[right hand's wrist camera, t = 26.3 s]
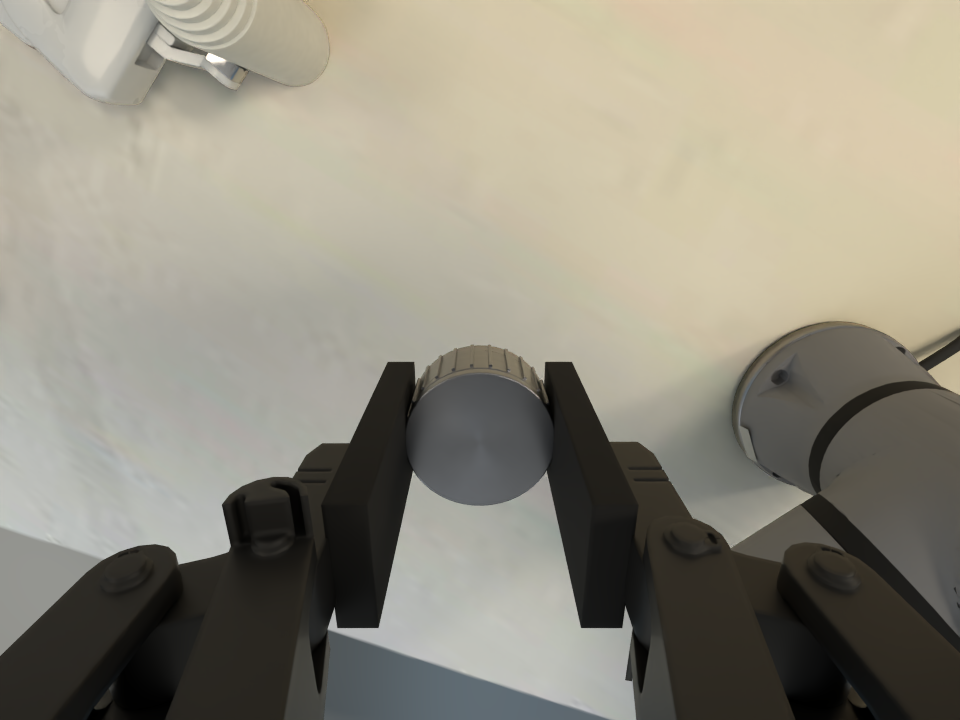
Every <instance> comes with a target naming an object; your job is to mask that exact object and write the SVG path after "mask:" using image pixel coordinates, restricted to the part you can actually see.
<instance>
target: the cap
mask: <svg viewBox="0 0 960 720" xmlns="http://www.w3.org/2000/svg"><path fill="white" fill-rule="evenodd" d="M549 405H550V403H549V400H548V397H547V393H546V390H545V387H544V383H543V381H542V380H540V379H539V378H538V376H537V374H536V372H535V369H534V368H533V367H532V368H531V367H530V366H529V365H528V364H527V363H526V362H525V361H524V360H523V358H522V357H521V356H520V357H518V356H516V355H515V354H513V353H511V352H509V351H508V350H507V349H505V350H504V349H500V348H497V347H492V346H491V345H488V346H479V345H477V346H474V345H471V346H468V347H463V348H459V349H457V348H455V349H454V350H453V351H451V352H449V353H447V354H445V355H443V356H442V355H440V356H439V358H438V359H437V360H436V361H435V362H434V363H432V364H431V365H430V366H429V365H428V366H427V367H426V371H425V372H424V374H423V375H422V377H421V378H418V380H417V383H416V387H415V390H414V394H413V397H412V401H411V406H410V409H409V413H408V416H407V417H408V419H407V423H406V427H405V429H406V447H407V458H408V461H409V463H410V465H411V467H412V469H413V471H414V472H415V474H416V475H417V477H418V478H419V479H420V480H421V481H422V482H423V483H424V484H425V485H426V486H427V487H428V488H429V489H431V490H432V491H434V492H435V493H437V494H438V495H440V496H442V497H444V498H446V499H449V500H451V501H454V502H458V503H462V504H467V505H481V506H483V505H493V504H498V503H502V502H505V501H509V500H511V499H513V498H516V497H518V496H520V495H521V494H523V493H525V492H526V491H528V490H529V489H530V488H532V487H533V486H534V485H535V484H536V483H537V482H538V481H539V480H540V479H541V477H542V476H543V475H544V474H545V472H546V470H547V469H548V467H549V465H550V463H551V460H552V457H553V440H554V422H553V419H552V416H551V412H550V409H549Z"/></svg>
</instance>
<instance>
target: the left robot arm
mask: <svg viewBox="0 0 960 720" xmlns="http://www.w3.org/2000/svg"><path fill="white" fill-rule="evenodd" d="M0 23H1V24H2V25H3V26H4V27H5V28H7V29H8V30H9V31H10V32H12V33H13V34H14V35H15V36H17V37H18V38H19V39H20V40H22V41H23V42H24V43H25V44H27V45H28V46H30V47H32V48H34V49H36V50H38V51H39V52H40V53H41V54H42V55H43V56H44V57H45V58H46V59H47V60H48V61H49V62H50V63H51V64H52V65H53V66H54V67H55V68H56V69H57V70H58V71H59V72H60V73H61V74H62V75H63V76H64V77H65V78H67V79H68V80H69V81H70V82H71V83H72V84H73V85H74V86H76V87H77V88H78V89H79V90H80V91H81V92H83V93H84V94H85V95H87V96H88V97H90V98H92V99H94V100H97V101H100V102H103V103H108V104H114V105H138V104H140V103H141V102H142V101H143V99H144V98H145V96H146V94H147V92H148V91H149V89H150V87H151V86H152V84H153V82H154V81H155V79H156V77H157V75H158V74H159V72H160V70H161V69H162V67H163V65H164V64H165V62H166V60H170V61H173V62H176V63H179V64H182V65H185V66H189V67H194V68H198V69H202V70H206V71H208V72H209V73H210V74H211V75H212V76H213V77H215V78H216V79H217V80H218V81H219V82H220V83H222V84H223V85H225V86H226V87H228V88H230V89H233V90H236V91H237V89H238V88H239V86H240V84H241V83H242V81H243V80H244V78H245V77H246V75H247V73H248V72H249V71H248V69H246V68H244V67H241V66H239V65H236V64H234V63H232V62H229V61H227V60H224V59H222V58H220V57H217V56H215V55H212V54H210V53H208V54H207V56H205V55H201V54H196V53H192V52H191V51H192V50H193V48H194V47H193V46H191V45H189V44H187V43H185V42H183V41H181V40H180V39H179V38H177V37H176V36H175V35H173V34H172V33H171V32H170V31H169V30H168V29H167V28H166V27H165V26H164V25H163V24H162V23H161V22H160V21H159V20H158V19H157V18H156V17H155V15H154V14H153V13H152V11H151V9H150V8H149V6H148V5H147V3H146V0H0Z"/></svg>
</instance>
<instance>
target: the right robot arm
mask: <svg viewBox="0 0 960 720" xmlns="http://www.w3.org/2000/svg"><path fill="white" fill-rule="evenodd" d="M958 351H960V336H959V337H957V338H956V339H955V340H953V341H952V342H951V343H949V344H948V345H946V346H945V347H943V348H942V349H940V350H938V351H937V352H935V353H934V354H932V355H930V356H929V357H927V358H926V359H924V360H922V361H921V362H919V363H918V362H917V360H916V359H915V358H914V356H913V355H912V354H911V353H910V352H909V351H908V350H907V349H906V348H905V347H904V346H903V345H901V344H900V343H899V342H897V341H896V340H895V339H893V338H891V337H890V336H888V335H886V334H884V333H882V332H879V331H877V330H875V329H872V328H870V327H867V326H864V325H861V324H856V323H850V322H828V323H821V324H816V325H812V326H809V327H806V328H803V329H800V330H798V331H795V332H793V333H791V334H789V335H787V336H785V337H784V338H782V339H780V340H779V341H777V342H776V343H774V344H773V345H772V346H770V347H769V348H768V349H767V350H766V351H765V352H763V353H762V354H761V355H760V356H759V357H758V358H757V359H756V360H755V362H754V363H753V364H752V365H751V366H750V368H749V369H748V371H747V372H746V374H745V375H744V377H743V379H742V380H741V382H740V385H739V387H738V389H737V392H736V395H735V398H734V403H733V409H732V423H733V429H734V433H735V436H736V439H737V441H738V443H739V445H740V446H741V448H742V449H743V451H744V452H745V453H746V454H747V458H749V459H751V460H752V461H753V462H754V463H755V464H756V465H757V466H758V467H759V468H760V469H762V470H763V471H765V472H766V473H768V474H769V475H771V476H772V477H774V478H776V479H778V480H780V481H782V482H784V483H787V484H790V485H793V486H797V487H798V488H799V489H801V490H803V491H805V492H807V493H809V494H811V495H813V497H812V498H810V499H808V500H807V501H805V502H804V503H802V504H800V505H798V506H797V507H795V508H793V509H792V510H790V511H789V512H787V513H786V514H784V515H782V516H781V517H779V518H778V519H776V520H775V521H773V522H771V523H770V524H768V525H767V526H765V527H764V528H762V529H760V530H759V531H757V532H756V533H754V534H753V535H751V536H749V537H748V538H746V539H745V540H743V541H742V542H740V543H738V544H737V545H735V546H734V547H732V548H731V549H730V547H729V545H728V543H727V542H726V540H725V539H724V537H723V536H722V535H721V534H720V533H719V532H717V531H716V530H715V529H714V528H712V527H711V526H709V525H707V524H705V523H703V522H701V521H698V520H696V519H693V518H692V517H691V515H690V513H689V512H688V510H687V508H686V507H685V505H684V503H683V502H682V500H681V498H680V497H679V495H678V493H677V492H676V490H675V488H674V487H673V485H672V483H671V482H670V481H669V478H668V477H667V475H666V474H665V472H664V470H662V467H661V465H660V464H659V462H658V460H657V459H656V457H655V455H654V454H653V453H652V452H651V451H649V450H648V449H647V448H645V447H644V446H642V445H641V444H640V443H638V442H609V440H608V438H607V436H606V434H605V432H604V430H603V428H602V425H601V423H600V421H599V419H598V417H597V415H596V413H595V411H594V408H593V406H592V404H591V402H590V400H589V398H588V396H587V393H586V391H585V389H584V387H583V385H582V383H581V381H580V378H579V376H578V374H577V372H576V370H575V368H574V366H573V363H572V362H545V379H544V387H545V390H546V393H547V397H548V400H549V403H550V405H549V409H550V412H551V416H552V419H553V422H554V440H553V457H552V460H551V463H550V465H549V467H548V469H547V474H548V478H549V483H550V488H551V492H552V497H553V501H554V506H555V510H556V515H557V520H558V524H559V529H560V533H561V538H562V542H563V547H564V552H565V556H566V561H567V565H568V570H569V574H570V579H571V584H572V588H573V593H574V597H575V602H576V606H577V611H578V616H579V620H580V625H581V628H622V626H623V619H624V611H625V606H626V609H627V612H628V615H629V618H630V621H631V624H632V627H633V630H632V637H631V644H630V651H629V658H628V665H627V672H626V679H625V680H628V681H632V678H633V688H634V699H635V710H636V720H960V395H958V394H956V393H954V392H952V391H950V390H948V389H945V388H943V387H941V386H940V385H939V384H938V383H937V382H936V380H935V379H934V378H933V377H932V376H931V375H930V374H929V373H928V372H927V371H928V370H930V369H931V368H933V367H934V366H936V365H938V364H939V363H941V362H943V361H944V360H946V359H947V358H949V357H950V356H952V355H954V354H955V353H957V352H958ZM415 387H416V386H415V366H414V362H388V363H387V365H386V367H385V369H384V371H383V373H382V376H381V378H380V380H379V382H378V384H377V386H376V388H375V391H374V393H373V395H372V397H371V399H370V401H369V403H368V405H367V408H366V410H365V412H364V414H363V416H362V418H361V420H360V423H359V425H358V427H357V429H356V431H355V433H354V435H353V438H352V440H351V442H350V443H322V444H321V445H320V446H318V447H317V448H315V449H314V450H313V451H311V452H310V453H309V454H307V455H306V457H305V458H304V460H303V462H302V463H301V465H300V467H299V468H298V472H296V473H295V475H294V477H293V478H289V477H271V478H266V479H261V480H257V481H254V482H252V483H249V484H247V485H244V486H242V487H240V488H239V489H238V490H236V491H235V492H233V493H232V494H230V495H229V496H228V498H227V499H226V500H225V501H224V503H223V504H222V507H223V512H224V516H225V521H226V526H227V530H228V535H229V539H230V544H231V548H230V550H229V552H228V553H225V554H222V555H218V556H215V557H211V558H207V559H202V560H198V561H193V562H189V563H184V564H180V565H178V561H177V557H176V554H175V553H174V552H173V551H172V550H171V549H170V548H169V547H166V546H161V545H156V544H153V545H143V546H137V547H133V548H130V549H126V550H124V551H120V552H118V553H116V554H114V555H112V556H110V557H108V558H106V559H104V560H102V561H101V562H100V563H98V564H97V565H96V566H94V567H93V568H92V569H91V570H89V571H88V572H87V573H86V574H85V575H84V576H83V577H81V578H80V579H79V580H78V581H77V582H76V583H75V584H74V585H73V586H72V587H71V588H70V589H69V590H68V591H67V592H66V593H65V594H64V595H63V596H62V597H61V598H60V599H59V600H58V601H57V602H56V603H55V604H54V605H53V606H51V607H50V608H49V609H48V610H47V611H46V612H45V613H44V614H43V615H42V616H41V617H40V618H39V619H38V620H37V621H36V622H35V623H34V624H33V625H32V626H31V627H30V628H29V629H28V630H27V631H26V632H25V633H24V634H23V635H22V636H20V637H19V638H18V639H17V640H16V641H15V642H14V643H13V644H12V645H11V646H10V647H9V648H8V649H7V650H6V651H5V652H4V653H3V654H2V655H1V656H0V720H324V711H325V700H326V690H327V679H328V668H329V658H330V644H329V637H328V630H327V628H328V625H329V622H330V619H331V616H332V613H333V610H334V607H335V614H336V621H337V628H379V623H380V619H381V614H382V610H383V605H384V600H385V596H386V591H387V587H388V582H389V578H390V573H391V568H392V564H393V559H394V555H395V550H396V546H397V541H398V536H399V532H400V527H401V523H402V518H403V514H404V509H405V504H406V500H407V495H408V491H409V486H410V482H411V477H412V472H413V469H412V467H411V465H410V463H409V461H408V458H407V447H406V429H405V427H406V423H407V419H408V417H407V416H408V413H409V409H410V406H411V401H412V397H413V394H414V390H415Z"/></svg>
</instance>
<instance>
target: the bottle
mask: <svg viewBox="0 0 960 720" xmlns="http://www.w3.org/2000/svg"><path fill="white" fill-rule="evenodd" d="M146 3H147V5H148V6H149V8H150V9H151V11H152V13H153V14H154V15H155V17H156V18H157V19H158V20H159V21H160V22H161V23H162V24H163V25H164V26H165V27H166V28H167V29H168V30H169V31H170V32H171V33H172V34H173V35H175V36H176V37H177V38H179V39H180V40H181V41H183V42H185V43H187V44H189V45H191V46H193V47H196V48H198V49H200V50H203V51H205V52H208V53H210V54H212V55H215V56H217V57H220V58H222V59H224V60H227V61H229V62H232V63H234V64H236V65H239V66H241V67H244V68H246V69H248V70H251V71H253V72H255V73H258V74H260V75H263V76H265V77H267V78H270V79H272V80H275V81H277V82H279V83H282V84H285V85H288V86H295V87H298V86H304V85H307V84H310V83H312V82H313V81H315V80H316V79H317V78H318V77H319V76H320V75H321V74H322V72H323V71H324V69H325V67H326V65H327V62H328V58H329V50H330V49H329V38H328V34H327V31H326V28H325V26H324V24H323V22H322V21H321V19H320V17H319V16H318V15H317V14H316V13H315V12H314V11H313V10H312V9H311V8H310V7H309V6H308V5H307V4H306V3H305V2H304V1H303V0H146Z"/></svg>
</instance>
